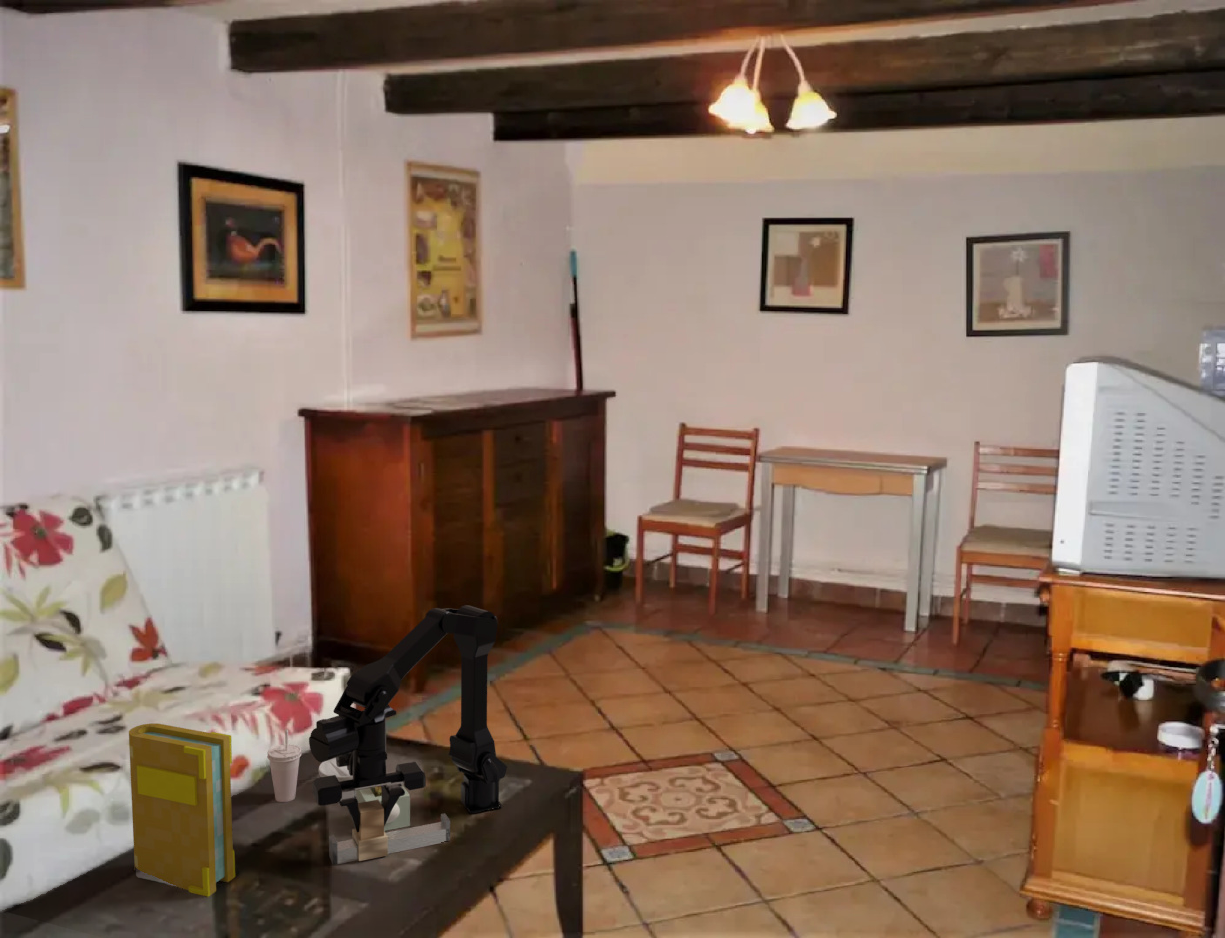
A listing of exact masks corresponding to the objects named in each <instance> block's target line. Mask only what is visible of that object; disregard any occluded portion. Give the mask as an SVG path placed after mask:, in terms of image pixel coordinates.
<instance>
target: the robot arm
mask: <svg viewBox="0 0 1225 938" xmlns="http://www.w3.org/2000/svg"><path fill="white" fill-rule="evenodd" d="M498 626H499V625H498V618H497V616H495V614H494V612H492V611H488V610H486V609H481V608H478V607H475V606H472V605H466V604H465V605H463V606H460V607H459V608H449V607H448V608H439V607H435V608H430V609H429V610H428V611H427V613H426V614H425V617H424V618H422V620H421V621H419V623H417V625H415V626H414V628H412V629H411V630H410V631H409V632H408V633H407V634H406V635H405V636H404V637H403V638H402V639H401V640H400V641H399V642H398V643H397V644H395V646H394V647H393V648H392V649H391V650H389V652H387V653H386V655H385V656H383V657H382V658H380V659H378V660H376V661H373V662H371V663H368V664H366V665H364V666H363V667H362V668H360V669H359V670H358V671H356V672H354V673H353V674H352V675H351V676H350V677H349V678H348V680H347V682H346V687H345V689H344V690H343V692H342V694H341V696H340V698H339V700H338V701H337V702H336V703H337V704H336V706H335V707H334V709H333V713H334V714H336V715H335V716H333V717H330V718H322V719H319V720H316V722H315V723H316V724H315V725H316V727H315V728H313V730H312V731H311V732H310V736H309V738H308V745H309V749H310V752H311V754H312V756H313V757H314V759H315V760H316V761H317V762H319V763H322V762H325V761H328V760H331V759H334V758H336V764H337V766H338V767H344V766H347V770H349V774H350V776H353V779H352V780H346V781H340V782H339V781H338V779H337V777H336V775H332V776H326V777H315V779H314V780H313V782H312V787H311V788H312V790H311V791H312V795H313V797H314V799H315V801H316V803H317V805H318V806H321V807H322V806H328V805H329V806H330V805H334V804H339V806H340V807H347V810H348V813H349V816H350V817H351V821H352V823H353V826H354V829H356V831H357V832H359V829H360V821H359V809H358V801H357V797H355V795H354V794H355V791H356V790H362V789H367V788H373V787H379V786H381V790H382V799H381V805H382V807H383V808H384V826H385V824H386V822H387V820H388V817H389V815H390V813H391V811H392V809H393V807H394V805H395V804H396V802H397V800H398V799H399V797H400V796H403V795H405V791H404V790H403V788H402V785H403V786H404V787H405V789H406V790H408V791H412V790H420V789H425V787H426V784H427V783H426V778H427V777H426V773H425V772H424V770H423V769H422V768H421V766H420V764H419V763H417V762H416V761H411V762H406V763H401V764H400V763H399V764H397V765H395V770H394V771H387V760H388V753H387V719H388V718H391V717H394V716H396V715H397V710H395V709H393V708H392V707H391V706H390V703H391V702H392V700H393V699H394V697H396V695H397V694H398V692H399V690H400V687H401V686H400V685H401V683H402V680H403V679H404V678H405V676H406V675H407V674H409V672H410V671H412V669H413V668H414V667H415V666H416V665H417V664H418V663H419V662H420V661H421V660H422V659H423V658H424V657H425V656H426V655H427V654H428V653H430V651H431V650H432V649H434V647H435V646H436V645H437V644H438V643H439V642H440V641H441V640H442V639H443V638H444V637H446V635H447V634H453V639H454V642H455V644H456V646H457V648H458V649H459V652H460V655H461V659H460V660H461V661H460V662H461V663H460V664H461V670H460V672H461V674H460V679H461V681H460V684H461V685H460V686H461V687H460V689H461V690H460V702H461V703H460V706H461V707H460V711H461V712H460V727H459V729H458V730H457V732H456V733H455V734H453V735H450V736H449V739H448V740H449V746H450V747H449V753H448V756H450V757H451V761H452V763H453V764H454V765H455V766H456V769H457V772H459V773H462V774H463V781H461V782H460V802H461V804H462V805H463V806H464V807H465V808H466V810H467V811H468V812H469V813H470V814H478V813H482V812H481V811H483V812H485V811H484V810H488V809H492V808H498V807H502V808H503V804H502V803H501V802H500V780H501V779H504V778H505V776H506V773H507V768H508V765H506V764H505V763H504V762H503V761H501V760H500V759H499V758H498V757H497V752H496V743H495V740H494V738H493V736H492V733H491V730H490V729H489V727H488V666H489V665H488V663H489V662H488V660H489V659H488V656H489V653H490V651H491V650H492V648H493V646H494V644H495V643H496V638H497V632H498V631H497V630H498ZM353 704H355V705H358V706H360V707H361V708H364V709H362V710H360V709H358V708H355V707H353V706H352V705H353ZM499 805H500V806H499ZM498 809H499V808H498ZM488 811H489V810H488Z"/></svg>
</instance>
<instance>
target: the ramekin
mask: <svg viewBox="0 0 1225 938" xmlns="http://www.w3.org/2000/svg"><path fill="white" fill-rule="evenodd" d="M332 775H336V777H337V779H338V781H339V782H340V781H346V780H352V779H353V776H350V774H349V770H347V766H344V767H338V766H337V764H336V758H334V759H331V760H328V761H325V762H320V764H319V766H318V776H320V777H326V776H332ZM320 777H319V778H320ZM354 795H355V797H356V798H357V790H356V791H355V794H354Z"/></svg>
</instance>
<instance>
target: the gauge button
mask: <svg viewBox="0 0 1225 938" xmlns="http://www.w3.org/2000/svg"><path fill="white" fill-rule="evenodd" d="M378 796H382V790H381V786H379V787H375V797H378Z"/></svg>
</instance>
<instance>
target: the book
mask: <svg viewBox="0 0 1225 938" xmlns="http://www.w3.org/2000/svg"><path fill="white" fill-rule="evenodd" d="M128 744H129V747H128V749H129V767H130V768H129V770H130V791H131V793H130V795H131V812H132V813H131V815H132V817H131V818H132V837H133V839H132V840H133V858H134V862H133V863H134V868H135V867H136V868H137V869H138V870H140V871H142V872H144V873H147V874H148V875H152V876H155V877H157V878H159V879H162V880H163V881H166V882H168V883H170V884H173V885H176V886H177V887H179V888H178V889H182V888H183V890H186V891H188V893H191V894H195V895H199V896H203V897H208V898H209V897H210V896H212V895H213V894H215V893H216V892H217V882H219V881H221V882H223V883H224V882H225V883H229V882H230V881H232V880H233V879H234V878H236V857H235V849H234V848H233V812H232V783H231V782H232V781H231V779H232V778H231V764H232V763H233V756H232V754H233V752H232V735H231V734H226V733H220V732H215V731H211V732H207V731H201V730H196V729H190V728H184V727H180V726H173V725H169V724H168V725H167V724H163V723H144V724H140V725H137V726H134V727H132V728H130V730H128ZM177 887H176V888H177Z"/></svg>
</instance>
